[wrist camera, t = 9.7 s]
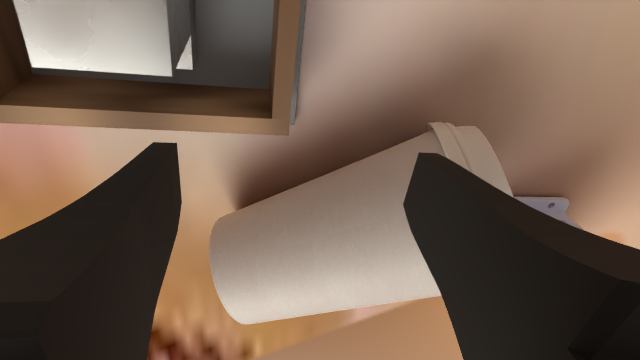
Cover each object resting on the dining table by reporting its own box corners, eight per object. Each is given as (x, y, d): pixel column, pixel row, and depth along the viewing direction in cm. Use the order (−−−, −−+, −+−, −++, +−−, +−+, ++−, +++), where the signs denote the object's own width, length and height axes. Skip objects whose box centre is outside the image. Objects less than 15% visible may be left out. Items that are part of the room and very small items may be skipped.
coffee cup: (253, 393, 21) (548, 331, 18) (166, 248, 18) (513, 144, 15) (280, 280, 30) (483, 226, 27) (226, 168, 26) (451, 92, 24)
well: (297, -73, 17) (307, -69, 14) (283, 104, 21) (288, 135, 18) (-48, -124, 14) (-120, -131, 12) (18, 89, 19) (-23, 122, 16)
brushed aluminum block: (91, -50, 16) (5, -26, 11) (193, -38, 17) (165, -9, 11) (107, 48, 18) (44, 113, 13) (197, 55, 19) (175, 119, 14)
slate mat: (315, -104, 17) (316, -104, 16) (293, 121, 22) (294, 124, 22) (-76, -167, 14) (-84, -169, 14) (13, 107, 20) (8, 110, 19)
